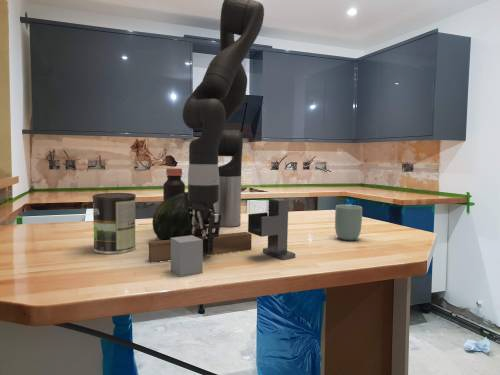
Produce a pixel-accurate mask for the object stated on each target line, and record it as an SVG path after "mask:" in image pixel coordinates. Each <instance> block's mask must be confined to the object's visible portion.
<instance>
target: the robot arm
mask: <svg viewBox="0 0 500 375" xmlns="http://www.w3.org/2000/svg"><path fill="white" fill-rule="evenodd" d="M220 10H221V11H220V20H219V36H220V37H219V52H218V53H217V54H216V55H215V56H214V57H213V58H212V60H211V61H210V62H209V64H208V67H207V69H206V71H205V73H204V75H203V78H202V81H201V82H200V83H199V84H198V86H197V87H196V88H195V89H194V90H193V91H192V92H191V94H190V96H189V97H188V98H187V100H186V101H185V103H184V104H183V107H182V108H183V109H182V120H183V122H184V125H185V126H186V127H187V128H189V129H192V130H201V134H200V137H198V138H195V139H192V140H191V141H190V142H189V145H188V172H187V192H188V201H189V202H190V203H193V207H188V208H187V213H188V223H189V230H192V234H194V236H195V237H202V236H204V254H212V253H213V238H215V237H218V236H219V235H220V230H221V229H220V228H221V227H223V228H224V227H226V228H227V227H228V228H229V227H230V228H231V227H237V226H240V225H241V222H242V221H241V217H242V216H241V214H242V213H241V212H242V207H241V206H242V162H243V161H242V160H243V146H244V145H243V143H244V136H243V133H242V131H241V130H239V129H225V127H226V125H227V123H228V121H230V119H231V118H232V117H233V115H234V114H235V113H236V112H238V110H239V109H240V108H241V107H242V105H243V103H244V101H245V99H246V95H247V87H248V76H247V72H246V70H245V67H244V66H243V61H244V60H245V58H246V57H247V55H248V53H249V52H250V49H251V48H252V46H253V45H254V43H255V41H256V40H257V37H258V36H259V34H260V31H261V30H262V27H263V23H264V18H265V7H264V5H263V3H261V2H260V1H257V0H223V2H222V5H221V9H220ZM235 35H237V36H239V38H237V40H236V41H235ZM219 157H232V158H231V160H230V161H229V162H227V163H225V164H223V165H219ZM192 215H193V216H192ZM192 225H193V226H192ZM205 225H206V226H205ZM199 226H200V227H199ZM202 232H203V234H201V233H202Z"/></svg>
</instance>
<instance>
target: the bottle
mask: <svg viewBox="0 0 500 375" xmlns="http://www.w3.org/2000/svg"><path fill="white" fill-rule="evenodd" d="M165 169H166V173H165V174H166V178H167V180H166V181H165V182H164V183H163V186H162V187H163V196H162V197H163V201H164V200H166V199H168V198H170V197H173V196H175V195H177V194H180V193H183V192H186V184H185V183H184V181H183V180H182V176H183V169H182V168H179V167H173V168H172V167H171V168H168V167H167V168H165ZM163 201H162V202H163Z"/></svg>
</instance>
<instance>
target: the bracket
mask: <svg viewBox="0 0 500 375" xmlns="http://www.w3.org/2000/svg"><path fill="white" fill-rule="evenodd" d="M267 211H268V212H267ZM267 211H266V212H265V211H264V212H257V213H248V215H247V216H248V219H247V222H248V223H247V232H248V233H250V234H252V235H255V236H258V237H262V238H263V237H267V247H263V248H262V253H264V254H267V255H270V256H272V257H274V258H277V259H279V260H282V261H283V260H290V259H294V258H296V253H295V252H293V251H290V250H288V232H289V230H288V228H289V227H288V226H289V199H285V198H280V197H279V198H278V197H277V198H268V210H267Z"/></svg>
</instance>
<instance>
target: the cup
mask: <svg viewBox="0 0 500 375" xmlns="http://www.w3.org/2000/svg"><path fill="white" fill-rule="evenodd" d="M334 214H335V215H334V229H335V234H336V236H337V238H339V239H340V240H343V241H355V240H357V239H359V237H360V235H361V231H362V221H363V207H362V206H361V205H357V204H336V205H335V210H334Z"/></svg>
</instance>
